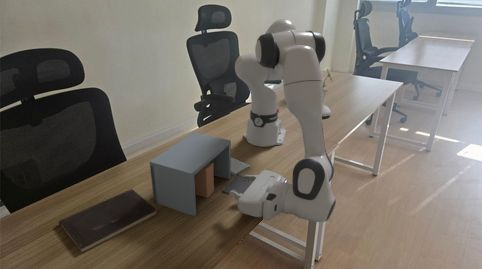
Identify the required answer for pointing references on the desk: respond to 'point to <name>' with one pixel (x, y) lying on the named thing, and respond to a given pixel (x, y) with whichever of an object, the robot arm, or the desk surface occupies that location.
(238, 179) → the mat
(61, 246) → the desk surface
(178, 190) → the cubby
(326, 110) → the flower in vase
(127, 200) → the hardcover book
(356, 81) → the desk surface
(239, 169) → the hard drive
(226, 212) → the desk surface
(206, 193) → the block
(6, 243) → the desk surface
